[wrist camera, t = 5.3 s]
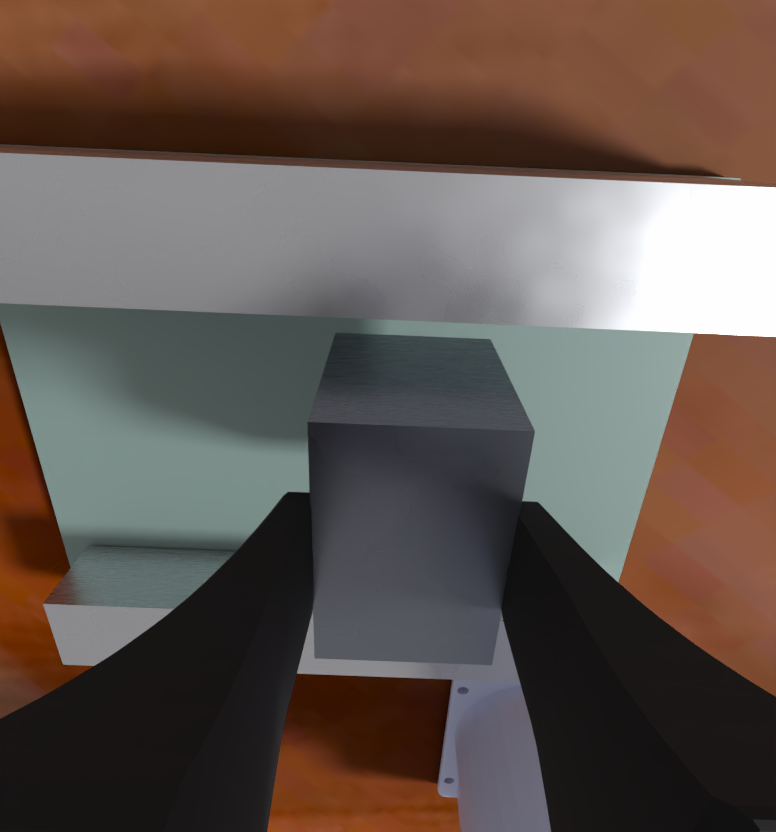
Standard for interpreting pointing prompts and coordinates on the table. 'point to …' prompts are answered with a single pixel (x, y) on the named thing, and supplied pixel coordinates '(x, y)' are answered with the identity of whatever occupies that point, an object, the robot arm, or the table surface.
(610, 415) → the vise base
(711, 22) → the table surface
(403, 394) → the steel block
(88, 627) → the bar
